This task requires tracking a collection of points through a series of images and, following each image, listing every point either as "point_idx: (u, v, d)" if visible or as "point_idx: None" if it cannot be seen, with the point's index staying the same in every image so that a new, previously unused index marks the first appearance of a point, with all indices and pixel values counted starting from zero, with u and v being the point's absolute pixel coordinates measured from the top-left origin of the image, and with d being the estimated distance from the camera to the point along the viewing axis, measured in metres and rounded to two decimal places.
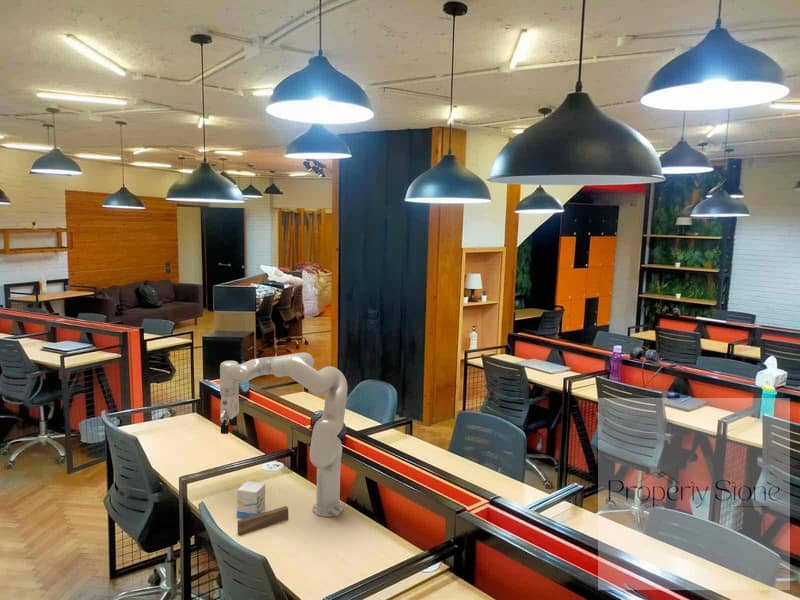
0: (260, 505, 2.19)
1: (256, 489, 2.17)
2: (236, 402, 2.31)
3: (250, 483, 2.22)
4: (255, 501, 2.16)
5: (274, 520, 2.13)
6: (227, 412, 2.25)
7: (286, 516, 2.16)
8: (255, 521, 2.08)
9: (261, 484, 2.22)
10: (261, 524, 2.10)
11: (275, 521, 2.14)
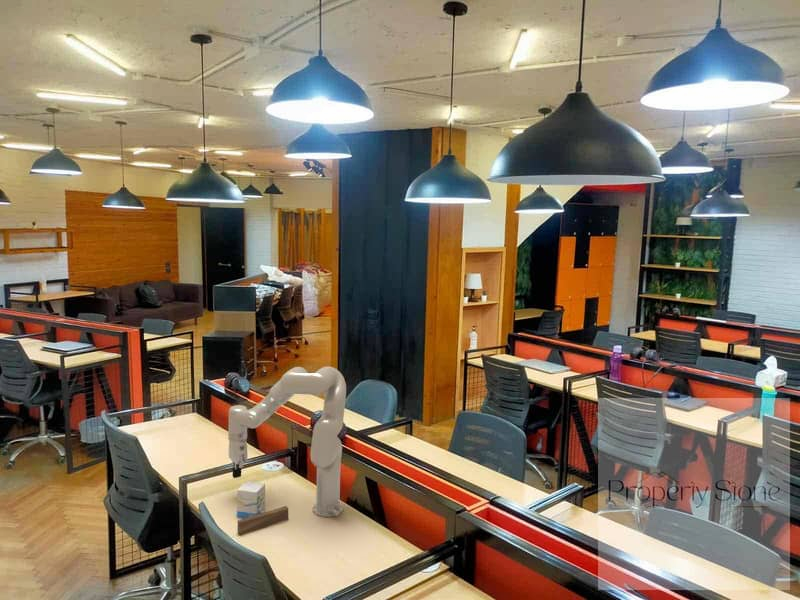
0: (260, 505, 2.19)
1: (256, 489, 2.17)
2: None
3: (250, 483, 2.22)
4: (255, 501, 2.16)
5: (274, 520, 2.13)
6: (244, 456, 2.27)
7: (286, 516, 2.16)
8: (255, 521, 2.08)
9: (261, 484, 2.22)
10: (261, 524, 2.10)
11: (275, 521, 2.14)
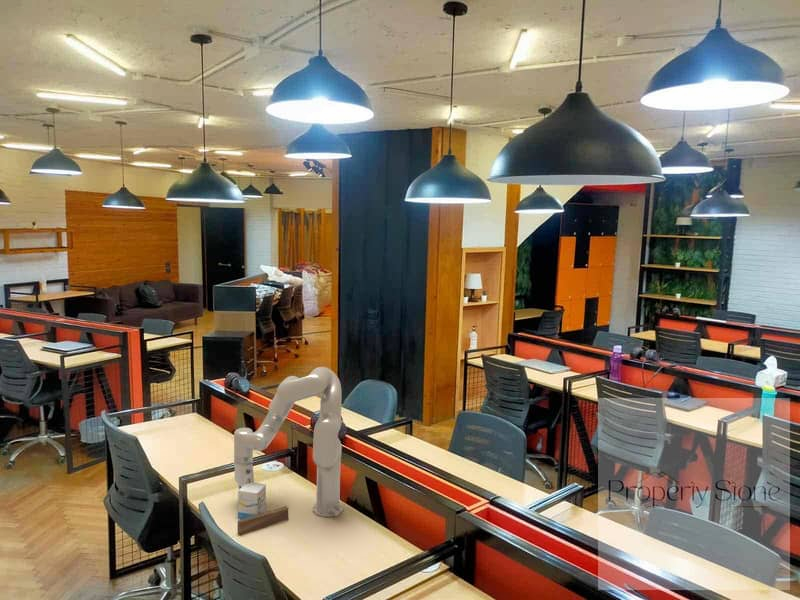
0: (261, 506, 2.19)
1: (257, 490, 2.17)
2: None
3: (251, 484, 2.21)
4: (256, 502, 2.15)
5: (274, 520, 2.13)
6: (250, 480, 2.23)
7: (286, 516, 2.16)
8: (255, 521, 2.08)
9: (262, 485, 2.21)
10: (261, 524, 2.10)
11: (275, 521, 2.14)
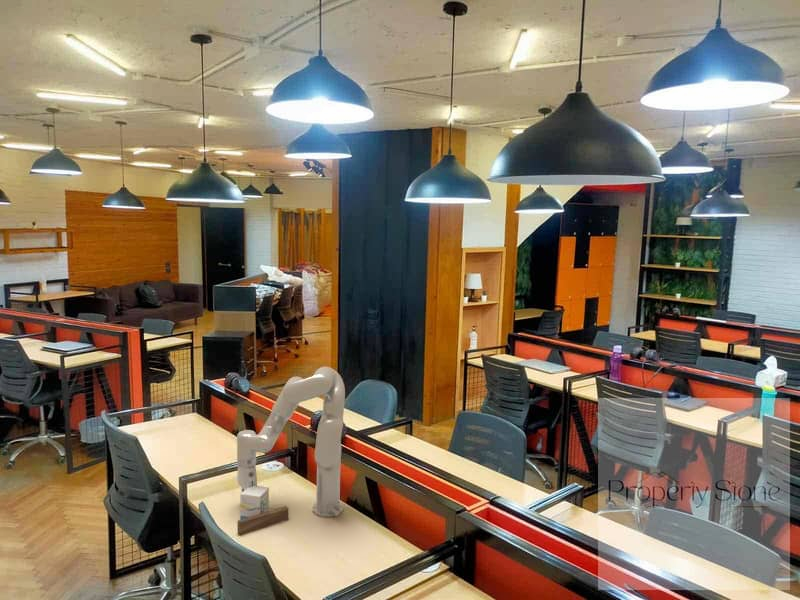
0: (263, 510, 2.16)
1: (259, 493, 2.14)
2: None
3: (253, 487, 2.19)
4: (258, 505, 2.12)
5: (274, 520, 2.13)
6: (254, 483, 2.20)
7: (286, 516, 2.16)
8: (255, 521, 2.08)
9: (265, 488, 2.18)
10: (261, 524, 2.10)
11: (275, 521, 2.14)
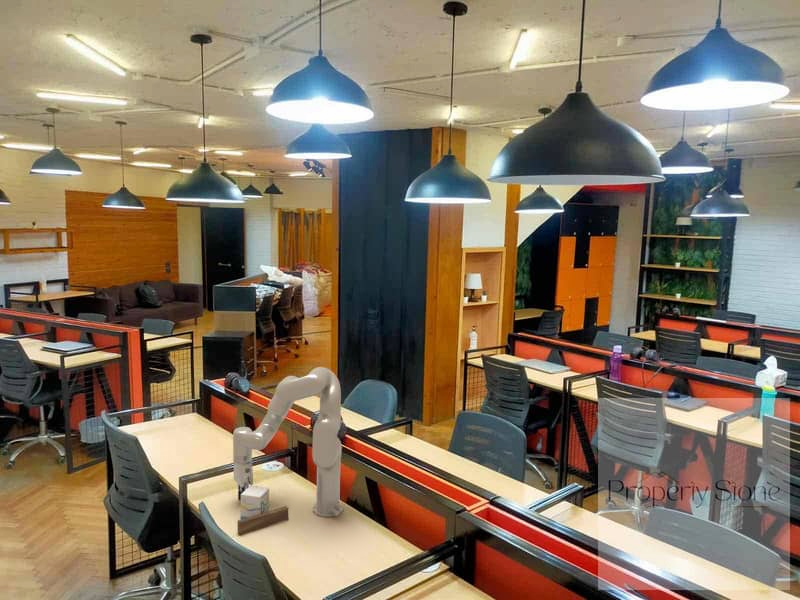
0: (264, 510, 2.16)
1: (260, 494, 2.14)
2: None
3: (254, 487, 2.19)
4: (258, 506, 2.12)
5: (274, 520, 2.13)
6: (250, 479, 2.23)
7: (286, 516, 2.16)
8: (255, 521, 2.08)
9: (265, 489, 2.18)
10: (261, 524, 2.10)
11: (275, 521, 2.14)
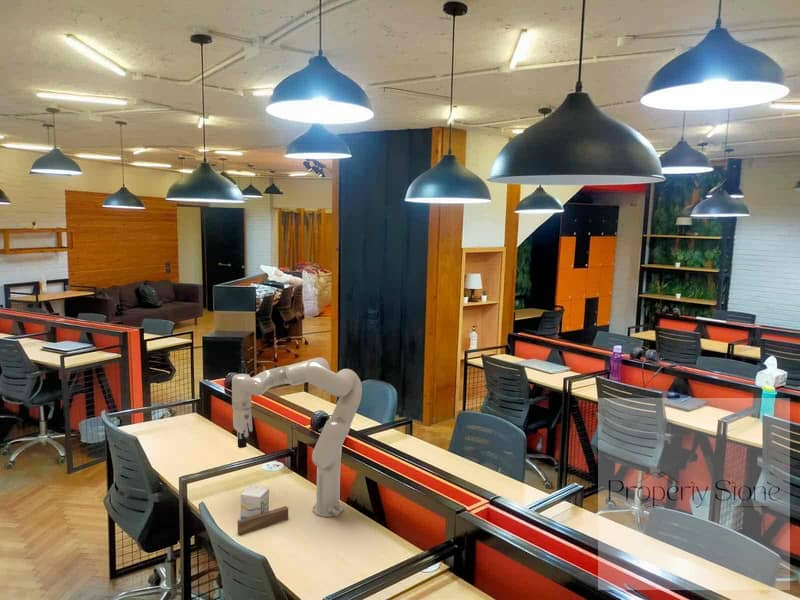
0: (264, 510, 2.16)
1: (260, 494, 2.14)
2: None
3: (254, 487, 2.19)
4: (258, 506, 2.12)
5: (274, 520, 2.13)
6: (249, 425, 2.22)
7: (286, 516, 2.16)
8: (255, 521, 2.08)
9: (265, 489, 2.18)
10: (261, 524, 2.10)
11: (275, 521, 2.14)
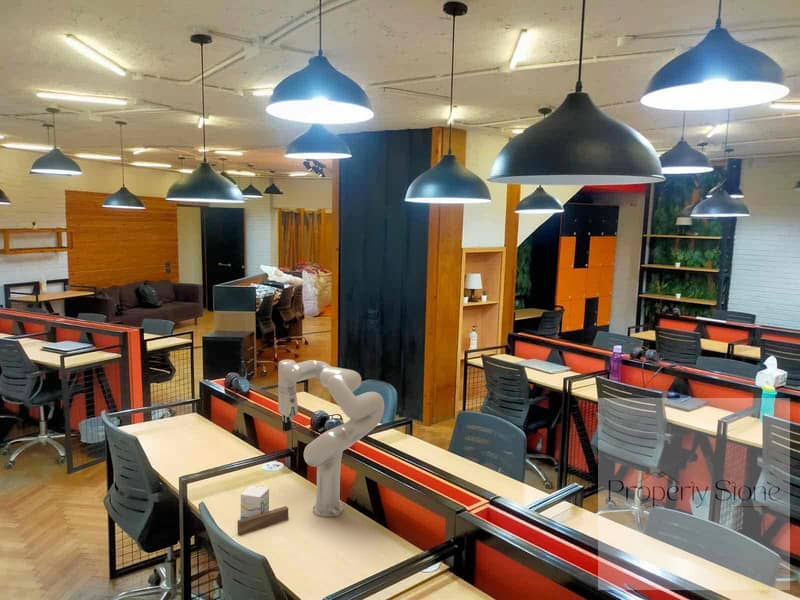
0: (264, 510, 2.16)
1: (260, 494, 2.14)
2: None
3: (254, 487, 2.19)
4: (258, 506, 2.12)
5: (274, 520, 2.13)
6: (295, 409, 2.30)
7: (286, 516, 2.16)
8: (255, 521, 2.08)
9: (265, 489, 2.18)
10: (261, 524, 2.10)
11: (275, 521, 2.14)
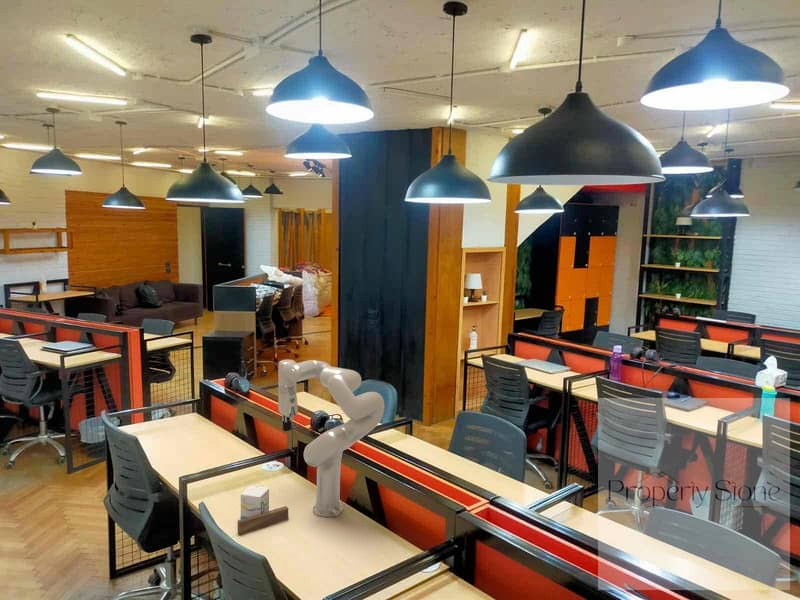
0: (264, 510, 2.16)
1: (260, 494, 2.14)
2: None
3: (254, 487, 2.19)
4: (258, 506, 2.12)
5: (274, 520, 2.13)
6: (295, 409, 2.30)
7: (286, 516, 2.16)
8: (255, 521, 2.08)
9: (265, 489, 2.18)
10: (261, 524, 2.10)
11: (275, 521, 2.14)
